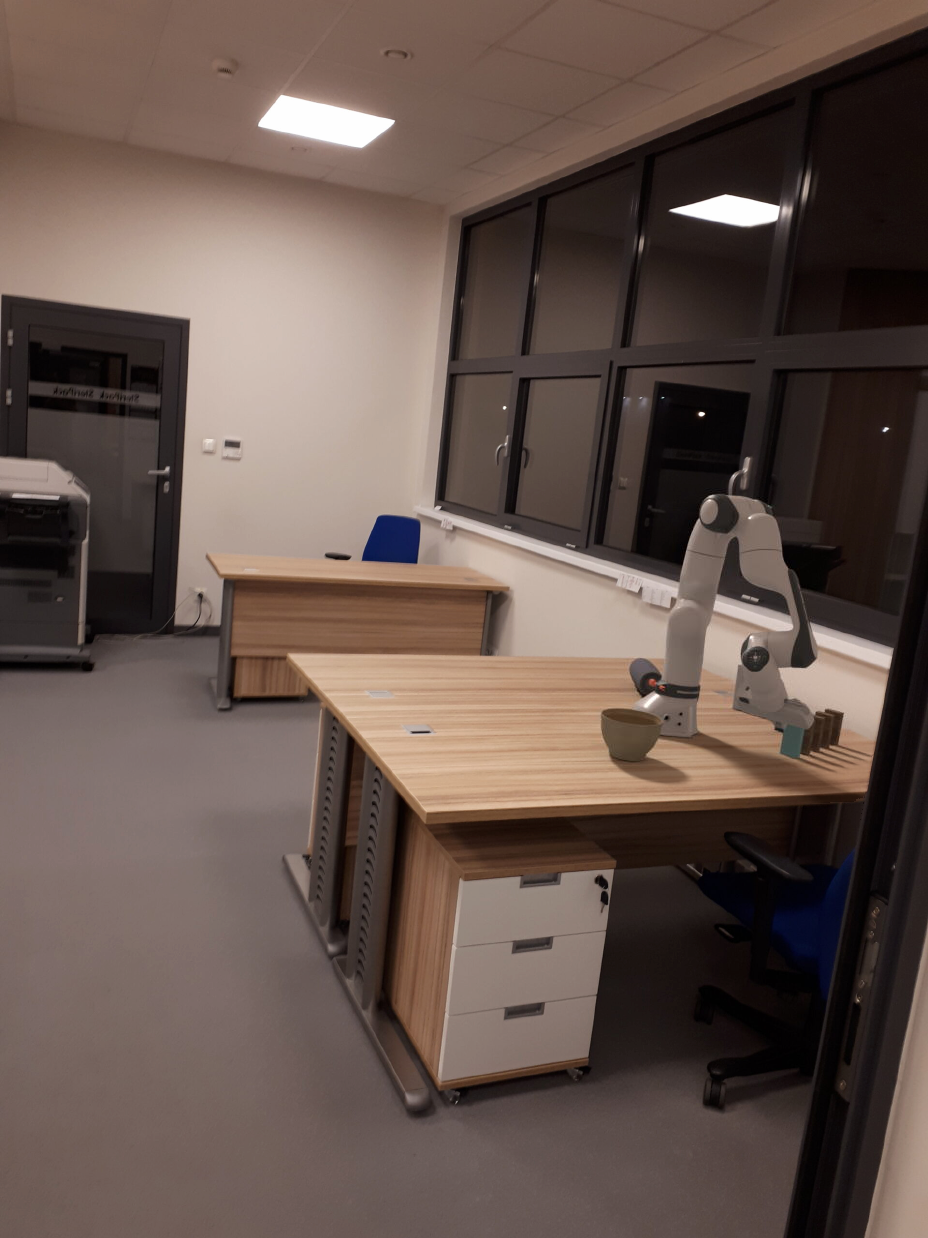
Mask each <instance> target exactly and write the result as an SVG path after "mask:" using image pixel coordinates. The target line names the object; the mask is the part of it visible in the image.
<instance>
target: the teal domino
mask: <svg viewBox="0 0 928 1238" xmlns="http://www.w3.org/2000/svg"><path fill="white" fill-rule="evenodd" d="M803 735H804V729H803V728H799V727H796V726H792V725H788V724H787V727H786V728H785V730H784V731H783V733H782V737H781V744H780V750H779V754H780V755H784V756H786V757H789V758H794V759H795V760H797V759H799V758H800V757H801V753H800V752H801V746H802V741H803Z"/></svg>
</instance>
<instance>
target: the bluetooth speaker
mask: <svg viewBox="0 0 928 1238" xmlns="http://www.w3.org/2000/svg"><path fill="white" fill-rule="evenodd" d="M628 669H629V670H628V671H629V676H630V678H631V679H632V683H633V684H634V685H635V686H636V688H638V689H637V690H638V691H639V693H640V694H641V695H645V696H647V695H649V694H650V693H652V692H653V691H655V690H654V689H655V687H652V686H651V685H649V682H650V679H654V680H655V681H657V682H658V681H659V680H660V679H661V678H662V673H661V672H660V671H659V669H658V668H657V666H655V665H654V663H653V662H651V661H650V660H648V658H644V657H639V658H635V659H634V660H633V661H632V662H631V663H630V666H629V668H628Z"/></svg>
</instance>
